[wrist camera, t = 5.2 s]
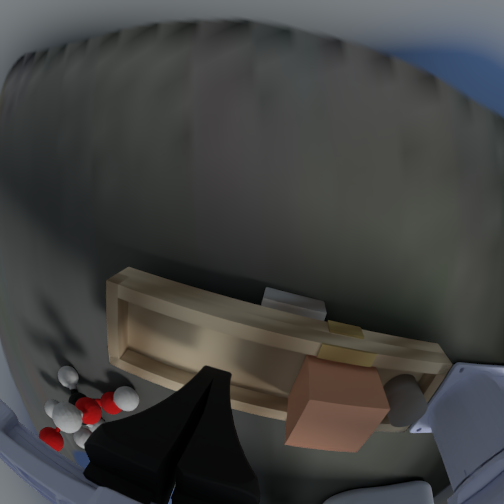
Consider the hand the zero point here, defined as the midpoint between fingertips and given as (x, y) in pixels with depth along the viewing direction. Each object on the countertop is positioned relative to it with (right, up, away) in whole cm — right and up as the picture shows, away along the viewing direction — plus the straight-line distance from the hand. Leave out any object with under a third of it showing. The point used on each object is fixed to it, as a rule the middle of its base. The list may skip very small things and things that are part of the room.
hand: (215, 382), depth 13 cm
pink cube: (+6, -1, +2) cm, 6 cm away
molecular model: (-13, -7, +10) cm, 18 cm away
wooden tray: (+4, +1, +5) cm, 6 cm away
